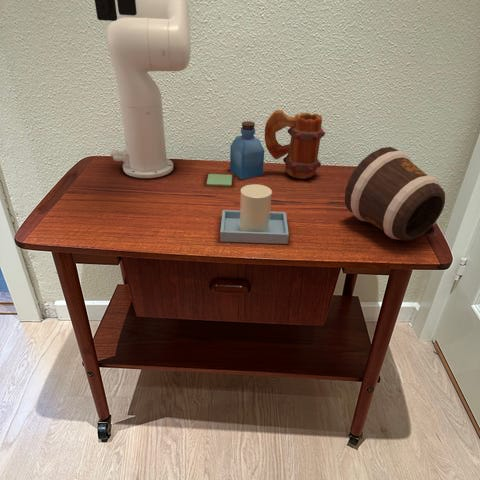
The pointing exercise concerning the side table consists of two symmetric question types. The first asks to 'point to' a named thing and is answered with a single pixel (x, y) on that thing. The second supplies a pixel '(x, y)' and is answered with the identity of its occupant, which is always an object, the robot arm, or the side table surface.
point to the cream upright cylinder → (255, 208)
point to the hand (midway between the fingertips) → (118, 17)
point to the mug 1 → (296, 142)
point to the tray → (274, 235)
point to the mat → (219, 180)
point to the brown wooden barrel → (394, 194)
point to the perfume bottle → (247, 153)
